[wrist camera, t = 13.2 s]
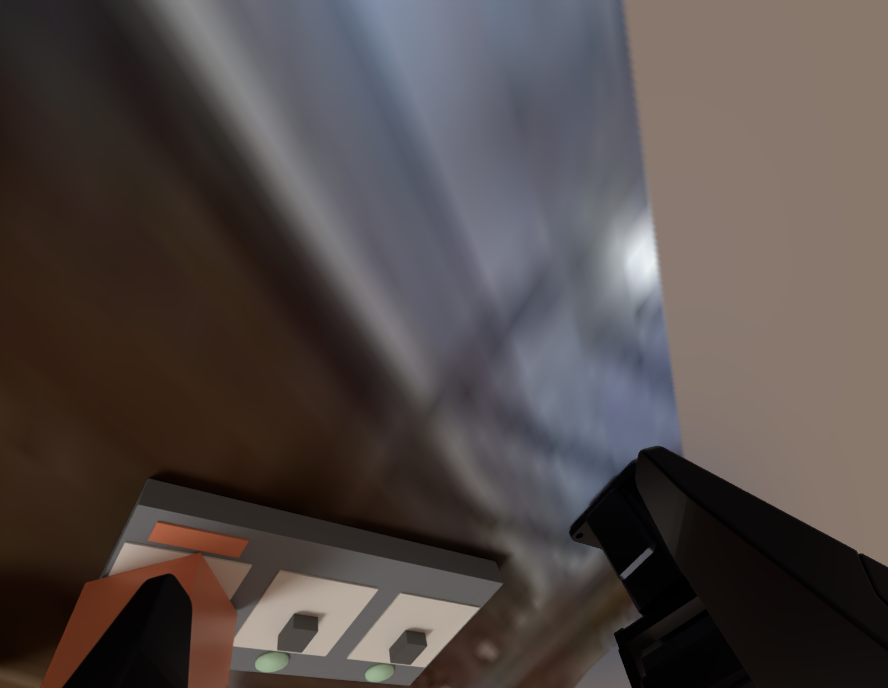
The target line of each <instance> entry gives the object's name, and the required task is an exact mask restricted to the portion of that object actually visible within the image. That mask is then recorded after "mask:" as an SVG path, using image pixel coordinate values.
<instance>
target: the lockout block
mask: <svg viewBox="0 0 888 688" xmlns="http://www.w3.org/2000/svg"><path fill="white" fill-rule="evenodd" d="M167 573H171V574H173V575H174V576H175V577H176V578H177V579H178V581H179V582H180V584H181V585H182V587H183V588H184V590H185V591H186V592H187V594H188V595H189V597H190V599H191V602H192V608H193V613H192V630H191V647H190V664H189V681H188V688H227V687H228V680H229V672H230V665H231V658H232V650H233V643H234V636H235V628H236V621H237V614H238V613H237V611H236V610H235V608H234V606H233V605H232V603H231V602H230V600H229V598H228V597H227V595H226V593H225V592H224V590H223V588H222V587H221V585H220V583H219V582H218V580H217V579H216V577H215V575H214V574H213V572H212V570H211V569H210V567H209V565H208V564H207V562H206V560H205V559H204V557H203V556H202V554H201V552H199V553H196V554H192V555H188V556H184V557H181V558H177V559H173V560H169V561H166V562H162V563H158V564H154V565H150V566H147V567H143V568H139V569H135V570H132V571H128V572H124V573H120V574H117V575H113V576H109V577H105V578H101V579H98V580H94V581H90V582H86V583H85V585H84V587H83V589H82V592H81V594H80V596H79V599H78V601H77V603H76V606H75V608H74V610H73V613H72V615H71V617H70V620H69V622H68V624H67V626H66V629H65V631H64V633H63V636H62V638H61V640H60V643H59V645H58V647H57V650H56V652H55V654H54V657H53V659H52V661H51V663H50V666H49V668H48V670H47V673H46V675H45V677H44V680H43V682H42V684H41V687H40V688H62V687H63V685H64V684H65V683H66V681H67V680H68V679H69V678H70V676H71V675H72V674H73V672H74V671H75V670H76V669H77V667H78V666H79V665H80V663H81V662H82V661H83V660H84V658H85V657H86V656H87V654H88V653H89V652H90V651H91V649H92V648H93V647H94V645H95V644H96V643H97V642H98V640H99V639H100V638H101V636H102V635H103V634H104V633H105V631H106V630H107V629H108V627H109V626H110V625H111V624H112V622H113V621H114V620H115V618H116V617H117V616H118V615H119V613H120V612H121V611H122V609H123V608H124V607H125V606H126V604H127V603H128V602H129V600H130V599H131V598H132V597H133V595H134V594H135V593H136V591H137V590H138V589H139V588H140V586H141V585H142V584H143V583H144V582H145V581H146V580H147V579H149V578H152V577H156V576H160V575H163V574H167Z"/></svg>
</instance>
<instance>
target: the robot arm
mask: <svg viewBox="0 0 888 688" xmlns="http://www.w3.org/2000/svg"><path fill="white" fill-rule="evenodd" d="M569 534H570V536H571V538H572V540H573V541H576V542H579V543H583V544H586V545H590V546H593V547H596V548H600V549H602V550H603V552H604V553H605V555H606V557H607V559H608V560H609V562H610V564H611V566H612V567H613V569H614V571H615V573H616V574H617V576H618V578H619V579H620V580H621V582H622V583H623V585H624V587H625V589H626V590H627V592H628V594H629V596H630V597H631V599H632V601H633V603H634V604H635V606H636V608H637V610H638V611H639V613H640V614H642V616H643V617H641V618H640V619H638V620H637V621H635V622H634V623H632V624H631V625H629V626H628V627H626V628H625V629H624V628H621V629H620V630H618V631H617V632H615V633H614V636H615V639H616V641H617V644H618V647H619V654H620V657H621V659H622V662H623V665H624V667H625V670H626V673H627V676H628V679H629V681H630V684H631V687H632V688H888V567H886V566H885V565H883V564H881V563H879V562H877V561H875V560H874V559H872V558H870V557H868V556H866V555H864V554H861V553H860V554H858V552H857V551H856V550H854V549H853V548H851V547H849V546H847V545H845V544H843V543H841V542H840V541H838V540H836V539H834V538H832V537H830V536H828V535H827V534H825V533H823V532H821V531H819V530H817V529H815V528H813V527H811V526H810V525H808V524H806V523H804V522H802V521H800V520H798V519H797V518H795V517H793V516H791V515H789V514H787V513H785V512H784V511H782V510H779V509H778V508H776V507H774V506H772V505H770V504H768V503H767V502H765V501H763V500H761V499H759V498H757V497H756V496H754V495H752V494H750V493H748V492H746V491H744V490H742V489H741V488H739V487H737V486H735V485H733V484H731V483H729V482H727V481H725V480H724V479H722V478H720V477H718V476H716V475H714V474H712V473H711V472H709V471H707V470H705V469H703V468H701V467H699V466H698V465H696V464H694V463H692V462H690V461H688V460H686V459H685V458H683V457H681V456H679V455H677V454H675V453H673V452H671V451H670V450H668V449H666V448H664V447H661V446H654V447H650V448H646V449H643V450H641V451H640V452H639V454H638V460H637V462H636V463H634V464H632V465H631V466H630V467H629V468H628V469H627V470H626V471H625V472H624V473H623V474H622V475H621V476H620V477H619V478H618V479H617V480H616V482H615V483H614V484H613V485H612V486H611V487H610V488H609V489H608V490H607V491H606V492H605V493H604V494H603V495H602V496H601V497H600V499H599V500H598V501H597V502H596V503H595V504H594V505H593V506H592V507H591V508H590V509H589V510H588V511H587V512H586V513H585V514H584V516H583V517H582V518H581V519H580V520H579V521H578V522H577V523H576V524H575V525H574V526H573V527H572V528H571V530H570V531H569ZM192 613H193V608H192V602H191V599H190V597H189V595H188V594H187V592H186V591H185V590H184V588H183V587H182V585H181V584H180V582H179V581H178V579H177V578H176V577H175V576H174V575H173V574H171V573H167V574H163V575H160V576H156V577H152V578H149V579H147V580H146V581H145V582H144V583H143V584H142V585H141V586H140V588H139V589H138V590H137V591H136V593H135V594H134V595H133V597H132V598H131V599H130V600H129V602H128V603H127V604H126V606H125V607H124V608H123V609H122V611H121V612H120V613H119V615H118V616H117V617H116V618H115V620H114V621H113V622H112V624H111V625H110V626H109V627H108V629H107V630H106V631H105V633H104V634H103V635H102V636H101V638H100V639H99V640H98V642H97V643H96V644H95V645H94V647H93V648H92V649H91V651H90V652H89V653H88V654H87V656H86V657H85V658H84V660H83V661H82V662H81V663H80V665H79V666H78V667H77V669H76V670H75V671H74V672H73V674H72V675H71V676H70V678H69V679H68V680H67V681H66V683H65V684H64V685H63V687H62V688H188V681H189V664H190V647H191V630H192Z"/></svg>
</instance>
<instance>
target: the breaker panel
mask: <svg viewBox="0 0 888 688" xmlns="http://www.w3.org/2000/svg"><path fill="white" fill-rule="evenodd" d="M199 552H201V554H202V556H203V557H204V559H205V560H206V562H207V564H208V565H209V567H210V569H211V570H212V572H213V574H214V575H215V577H216V579H217V580H218V582H219V583H220V585H221V587H222V588H223V590H224V592H225V593H226V595H227V597H228V598H229V600H230V602H231V603H232V605H233V606H234V608H235V610H236V611H237V613H238V614H237V621H236V628H235V636H234V643H233V650H232V658H231V665H230V670H241V671H253V672H264V673H275V674H286V675H297V676H308V677H319V678H330V679H341V680H352V681H363V682H374V683H385V684H397V685H408V686H409V685H410V684H411V683H412V682H413V681H414V680H415V679H416V678H417V677H418V676H419V675H420V673H421V672H422V671H423V670H424V669H425V668H426V667H427V666H428V665H429V664H430V663H431V662H432V660H433V659H434V658H435V657H436V656H437V655H438V654H439V653H440V652H441V651H442V650H443V649H444V647H445V646H446V645H447V644H448V643H449V642H450V641H451V640H452V639H453V638H454V637H455V636H456V634H457V633H458V632H459V631H460V630H461V629H462V628H463V627H464V626H465V625H466V624H467V623H468V621H469V620H470V619H471V618H472V617H473V616H474V615H475V614H476V613H477V612H478V611H479V610H480V608H481V607H482V606H483V605H484V604H485V603H486V602H487V601H488V600H489V599H490V598H491V597H492V596H493V594H494V593H495V592H496V591H497V590H498V589H499V588H500V587H501V586H502V585H503V581H502V578H501V575H500V572H499V569H498V566H497V563H496V562H495V561H491V560H487V559H483V558H479V557H474V556H470V555H466V554H462V553H458V552H454V551H449V550H445V549H441V548H437V547H433V546H428V545H424V544H420V543H416V542H412V541H408V540H403V539H399V538H395V537H391V536H387V535H382V534H378V533H374V532H370V531H366V530H362V529H357V528H353V527H349V526H345V525H341V524H337V523H332V522H328V521H324V520H320V519H316V518H311V517H307V516H303V515H299V514H295V513H291V512H286V511H282V510H278V509H274V508H270V507H266V506H261V505H257V504H253V503H249V502H245V501H240V500H236V499H232V498H228V497H224V496H220V495H215V494H211V493H207V492H203V491H199V490H194V489H190V488H186V487H182V486H178V485H174V484H169V483H165V482H161V481H157V480H153V479H149V478H148V480H147V482H146V484H145V486H144V488H143V490H142V492H141V494H140V496H139V498H138V500H137V502H136V504H135V506H134V508H133V510H132V512H131V515H130V517H129V519H128V521H127V523H126V525H125V527H124V529H123V531H122V533H121V535H120V537H119V539H118V541H117V543H116V545H115V547H114V549H113V552H112V554H111V556H110V558H109V560H108V562H107V564H106V566H105V568H104V570H103V572H102V574H101V576H100V578H99V579H101V578H105V577H109V576H113V575H117V574H120V573H124V572H128V571H132V570H135V569H139V568H143V567H147V566H150V565H154V564H158V563H162V562H166V561H169V560H173V559H177V558H181V557H184V556H188V555H192V554H196V553H199Z"/></svg>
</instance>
